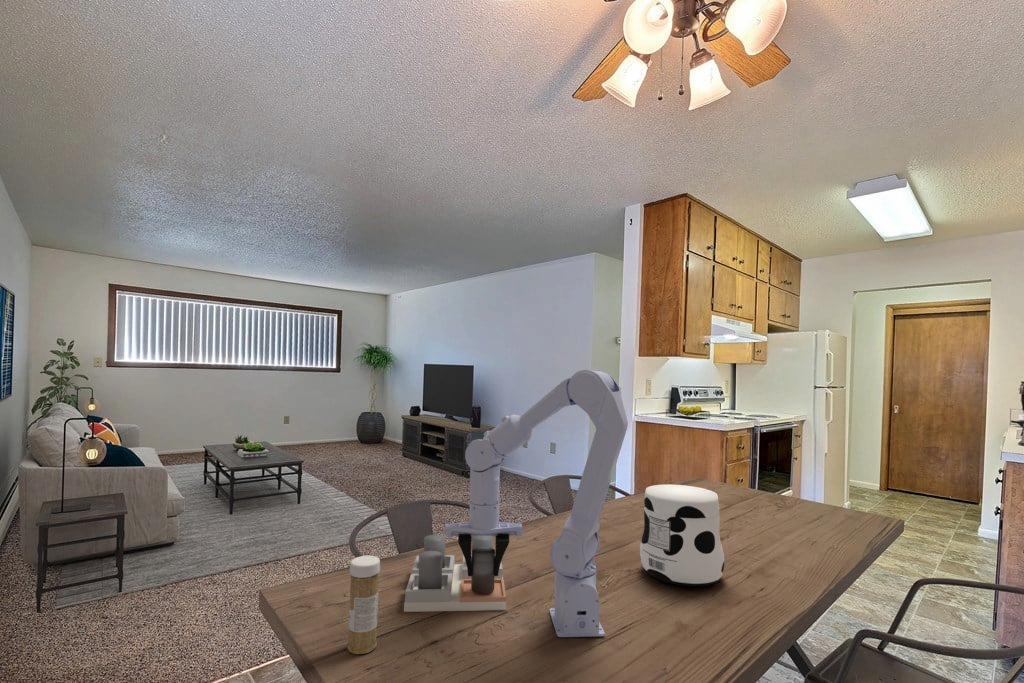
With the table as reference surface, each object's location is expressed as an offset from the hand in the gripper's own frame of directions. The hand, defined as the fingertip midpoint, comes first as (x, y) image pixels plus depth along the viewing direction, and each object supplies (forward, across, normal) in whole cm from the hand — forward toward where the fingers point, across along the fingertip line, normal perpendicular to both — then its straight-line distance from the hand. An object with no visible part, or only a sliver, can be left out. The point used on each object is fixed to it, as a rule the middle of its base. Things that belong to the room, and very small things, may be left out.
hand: (483, 574), depth 97 cm
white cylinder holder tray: (+5, +5, -5) cm, 9 cm away
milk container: (+5, -43, -10) cm, 44 cm away
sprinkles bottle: (+5, +19, +16) cm, 25 cm away
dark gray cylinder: (+3, 0, 0) cm, 3 cm away
